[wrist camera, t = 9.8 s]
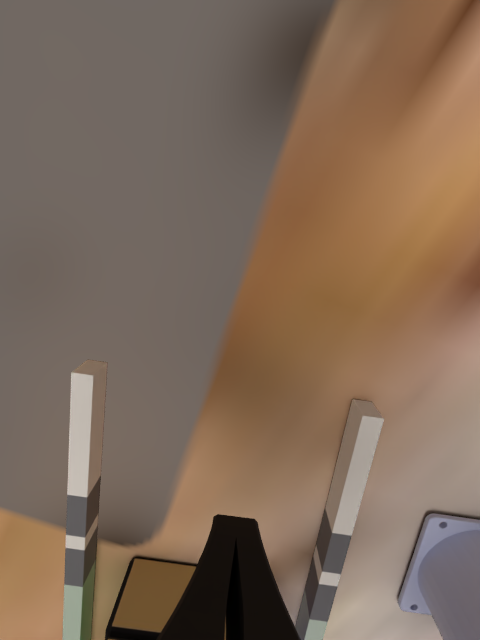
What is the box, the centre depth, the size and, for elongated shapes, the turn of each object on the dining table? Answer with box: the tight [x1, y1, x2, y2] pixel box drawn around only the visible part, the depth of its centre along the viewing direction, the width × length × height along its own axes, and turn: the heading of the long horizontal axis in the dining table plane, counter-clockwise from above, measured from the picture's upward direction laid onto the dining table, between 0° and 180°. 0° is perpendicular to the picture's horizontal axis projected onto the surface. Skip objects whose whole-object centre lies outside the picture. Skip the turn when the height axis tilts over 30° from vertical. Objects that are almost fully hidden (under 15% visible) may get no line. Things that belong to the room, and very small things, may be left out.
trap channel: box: [63, 360, 384, 640], centre depth 23 cm, size 17×26×2 cm
